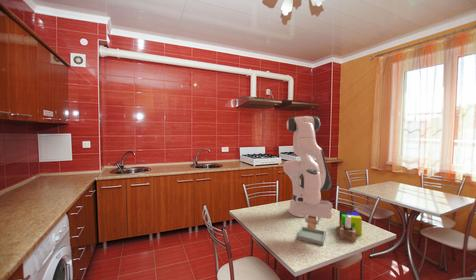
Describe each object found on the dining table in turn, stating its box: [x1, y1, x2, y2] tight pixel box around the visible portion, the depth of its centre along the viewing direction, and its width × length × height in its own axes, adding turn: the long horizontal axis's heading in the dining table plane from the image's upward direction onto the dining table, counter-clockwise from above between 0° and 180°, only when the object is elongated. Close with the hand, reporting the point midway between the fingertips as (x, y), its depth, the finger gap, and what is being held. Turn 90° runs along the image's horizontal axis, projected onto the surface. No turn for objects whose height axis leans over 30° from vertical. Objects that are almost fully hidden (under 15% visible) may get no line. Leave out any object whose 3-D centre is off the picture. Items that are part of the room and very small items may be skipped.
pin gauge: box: [345, 215, 351, 230], centre depth 118 cm, size 3×3×12 cm
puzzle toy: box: [338, 210, 363, 236], centre depth 127 cm, size 10×10×10 cm
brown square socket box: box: [339, 225, 357, 242], centre depth 118 cm, size 8×8×5 cm
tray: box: [296, 226, 327, 246], centre depth 118 cm, size 13×13×2 cm
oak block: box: [307, 215, 317, 229], centre depth 117 cm, size 4×4×6 cm
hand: (311, 223), depth 118 cm, fingers closed on oak block, 4 cm apart
